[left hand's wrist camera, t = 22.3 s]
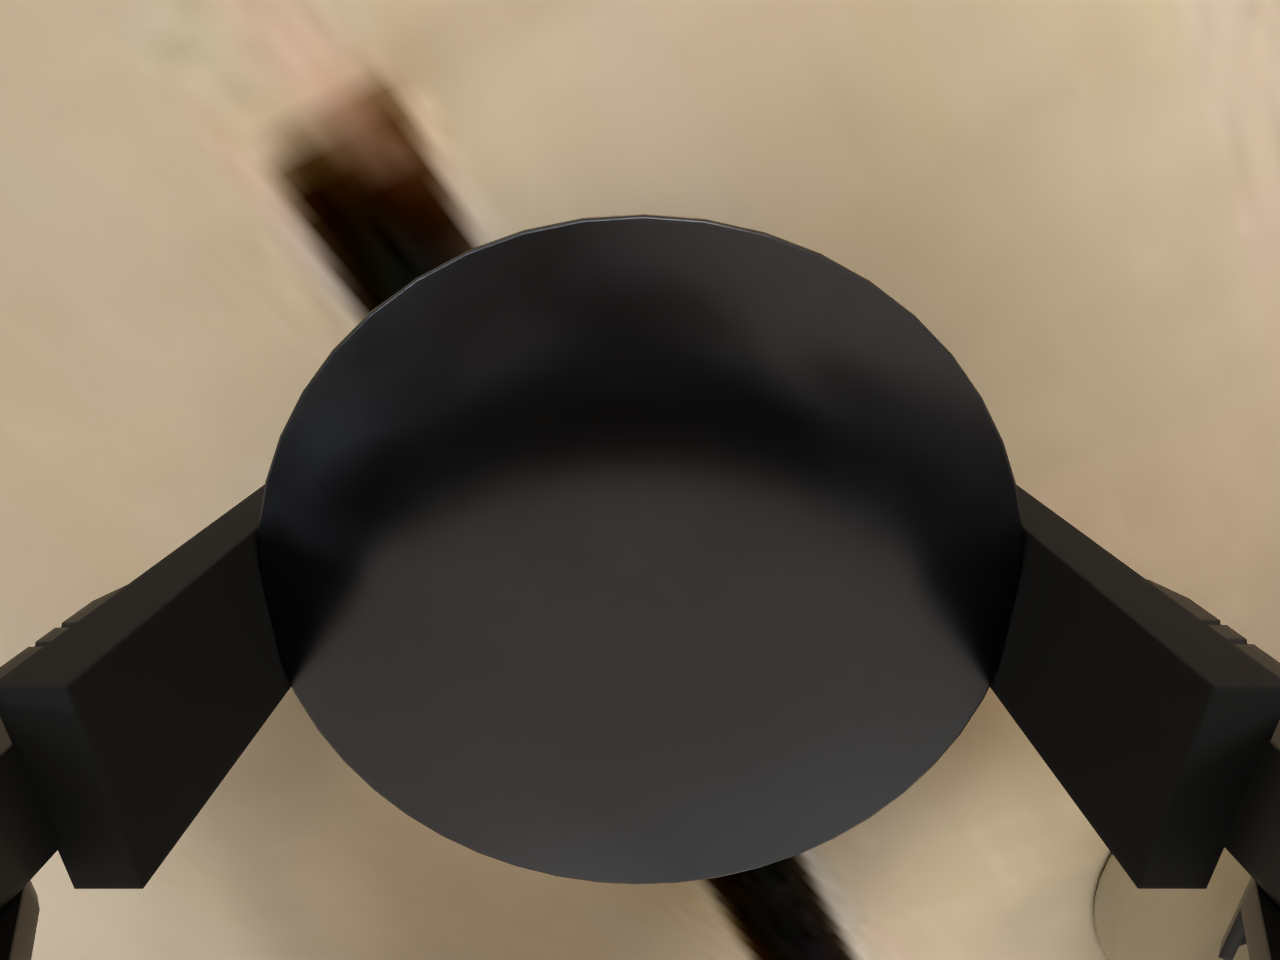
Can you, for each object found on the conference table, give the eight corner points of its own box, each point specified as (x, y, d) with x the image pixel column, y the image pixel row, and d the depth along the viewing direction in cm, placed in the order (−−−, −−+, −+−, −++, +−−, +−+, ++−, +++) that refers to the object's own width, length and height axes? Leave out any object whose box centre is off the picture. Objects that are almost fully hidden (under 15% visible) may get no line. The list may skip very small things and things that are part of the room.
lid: (261, 211, 10) (171, 210, 8) (1024, 216, 10) (1115, 217, 8) (368, 791, 14) (325, 883, 12) (907, 794, 14) (950, 887, 12)
